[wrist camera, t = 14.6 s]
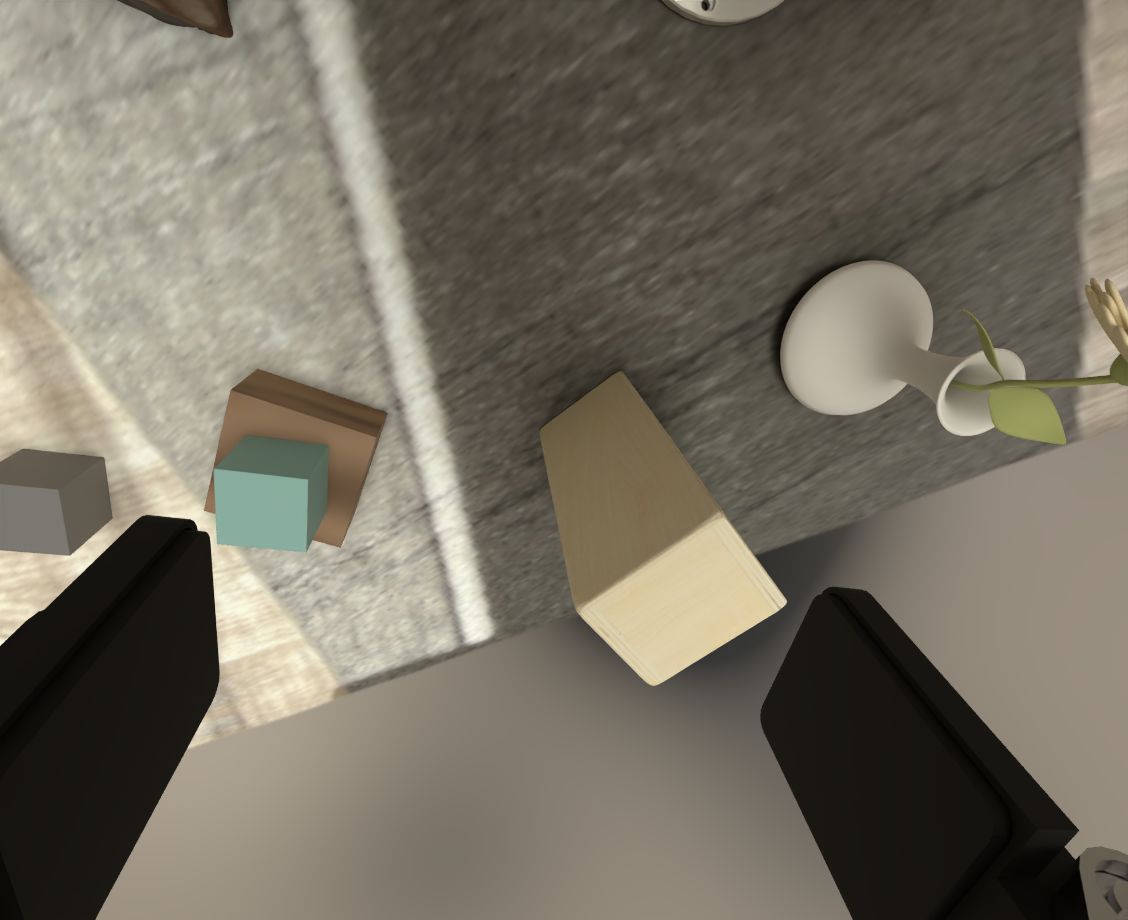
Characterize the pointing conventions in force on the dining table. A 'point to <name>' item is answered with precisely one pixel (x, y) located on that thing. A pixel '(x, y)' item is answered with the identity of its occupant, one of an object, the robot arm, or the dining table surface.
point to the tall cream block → (647, 537)
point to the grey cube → (51, 501)
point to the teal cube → (271, 493)
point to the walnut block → (306, 438)
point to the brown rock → (189, 13)
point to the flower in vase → (921, 356)
